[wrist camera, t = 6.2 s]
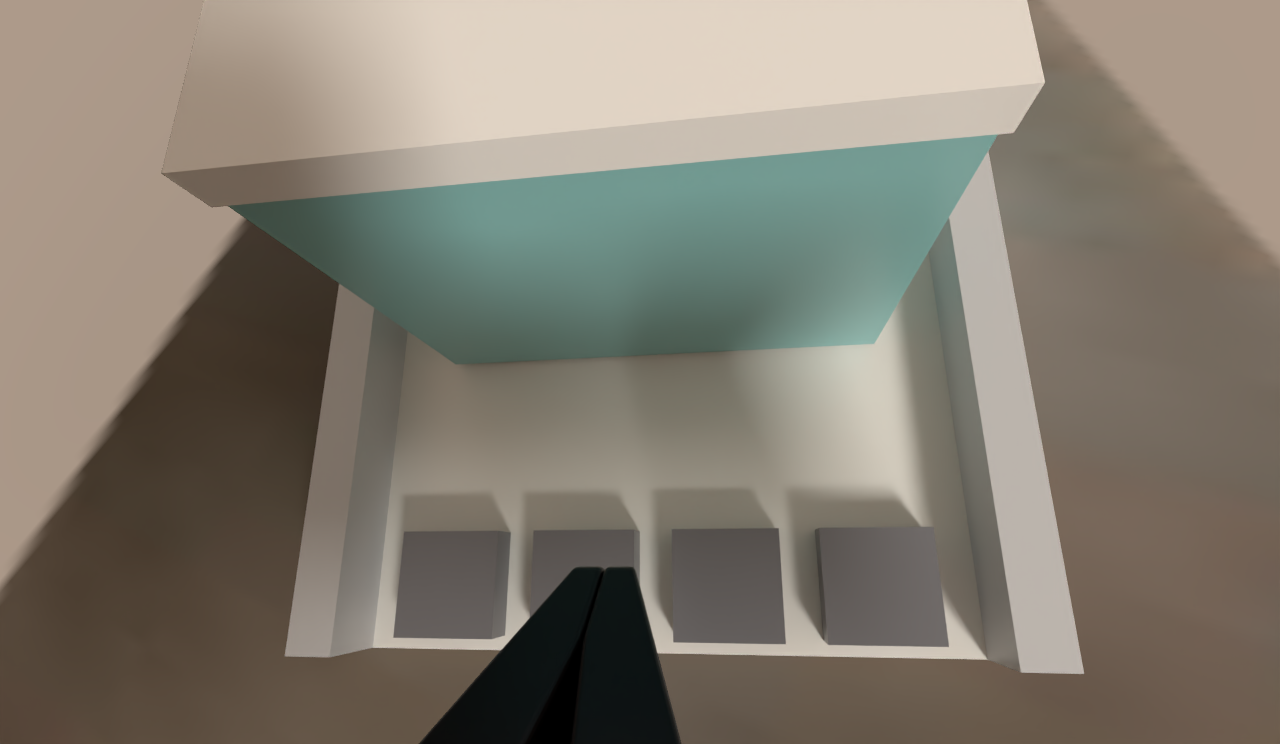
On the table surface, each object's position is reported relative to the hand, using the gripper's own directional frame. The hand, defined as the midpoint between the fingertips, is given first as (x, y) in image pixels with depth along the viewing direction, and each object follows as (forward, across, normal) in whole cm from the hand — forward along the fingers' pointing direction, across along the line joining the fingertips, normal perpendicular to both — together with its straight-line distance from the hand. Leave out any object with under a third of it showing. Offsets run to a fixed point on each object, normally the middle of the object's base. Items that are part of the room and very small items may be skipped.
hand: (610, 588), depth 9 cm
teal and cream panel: (+8, 0, -1) cm, 8 cm away
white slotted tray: (+7, 0, +2) cm, 7 cm away
